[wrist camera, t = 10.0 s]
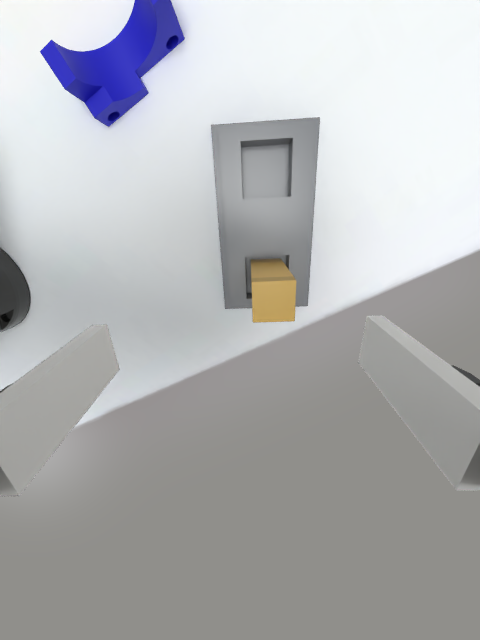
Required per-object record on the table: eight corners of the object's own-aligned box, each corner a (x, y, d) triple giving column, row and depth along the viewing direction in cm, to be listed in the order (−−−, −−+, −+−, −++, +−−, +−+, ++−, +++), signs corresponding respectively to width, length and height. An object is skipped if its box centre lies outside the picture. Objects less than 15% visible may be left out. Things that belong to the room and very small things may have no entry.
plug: (251, 288, 35) (252, 322, 24) (250, 259, 33) (251, 282, 22) (279, 287, 34) (294, 321, 23) (280, 258, 33) (296, 280, 22)
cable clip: (109, 127, 29) (76, 106, 23) (82, 84, 27) (40, 51, 22) (193, 56, 26) (178, 14, 21) (167, 5, 25) (144, -56, 19)
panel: (225, 306, 37) (223, 315, 34) (212, 127, 28) (207, 116, 25) (306, 303, 36) (311, 312, 33) (317, 120, 28) (326, 108, 24)
